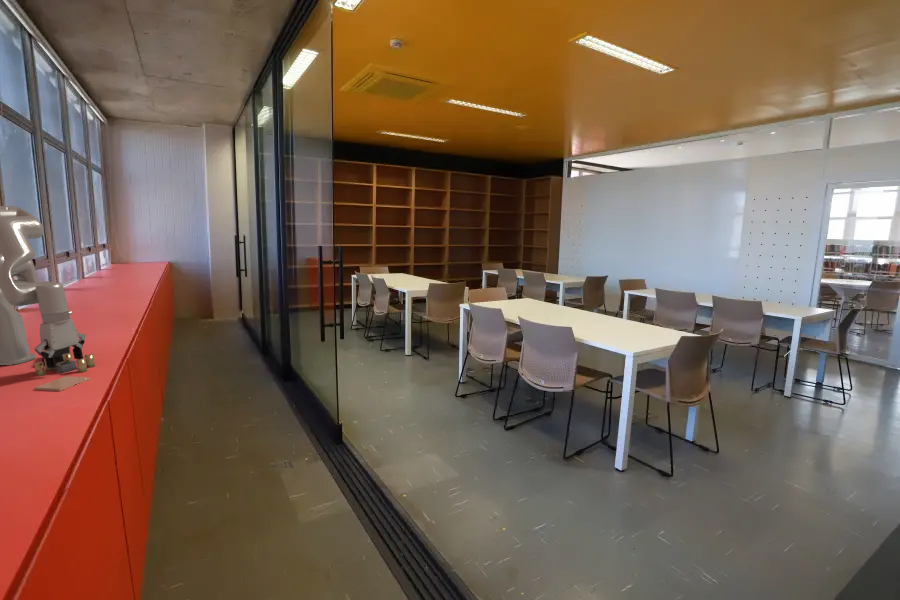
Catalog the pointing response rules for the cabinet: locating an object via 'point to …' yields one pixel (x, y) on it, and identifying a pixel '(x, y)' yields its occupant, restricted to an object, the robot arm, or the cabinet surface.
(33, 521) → the cabinet surface
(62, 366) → the steel nut
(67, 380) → the tan tile
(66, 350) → the black sponge
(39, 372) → the brass standoffs
